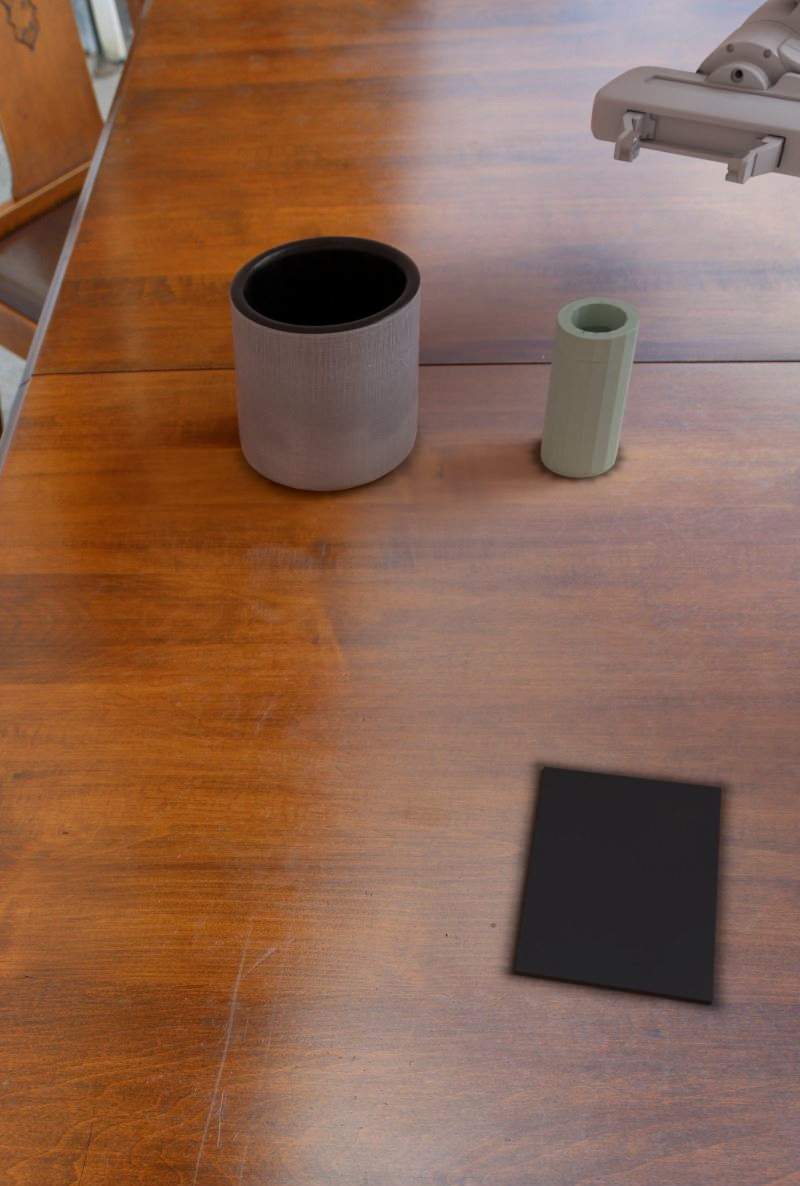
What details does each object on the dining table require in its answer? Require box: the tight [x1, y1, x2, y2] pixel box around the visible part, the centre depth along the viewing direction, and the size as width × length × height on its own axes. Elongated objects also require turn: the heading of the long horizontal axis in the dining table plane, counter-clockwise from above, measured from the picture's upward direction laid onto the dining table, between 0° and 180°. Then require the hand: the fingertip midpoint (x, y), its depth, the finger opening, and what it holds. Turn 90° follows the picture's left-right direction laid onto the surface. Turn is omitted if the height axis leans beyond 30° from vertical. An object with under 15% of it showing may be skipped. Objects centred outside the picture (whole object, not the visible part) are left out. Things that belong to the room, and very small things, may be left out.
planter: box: [229, 235, 422, 492], centre depth 115 cm, size 16×16×16 cm
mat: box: [513, 766, 722, 1005], centre depth 88 cm, size 18×12×1 cm, turn 165°
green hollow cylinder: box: [540, 296, 641, 478], centre depth 112 cm, size 6×6×13 cm
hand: (677, 162), depth 106 cm, fingers open, 8 cm apart
